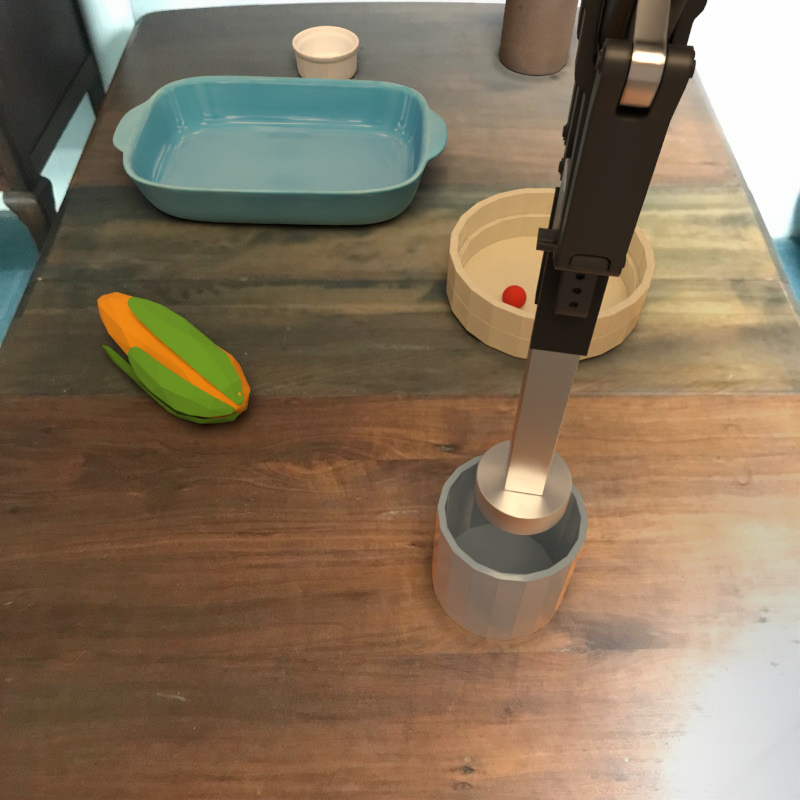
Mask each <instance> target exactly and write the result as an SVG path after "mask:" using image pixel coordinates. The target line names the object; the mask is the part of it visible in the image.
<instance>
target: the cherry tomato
mask: <svg viewBox="0 0 800 800" xmlns="http://www.w3.org/2000/svg"><path fill="white" fill-rule="evenodd" d="M526 298H527V296H526V292H525V290H524V289H523V288H522V287H520V286H518V285H511V286H509V287H507V288H506V289H505V290H504V292H503V294H502V301H503V303H506V304H508V305H511V306H513V307H516V308H518V309H519V308H521V307H522V306H523V305H524V304H525V302H526Z"/></svg>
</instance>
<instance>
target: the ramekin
mask: <svg viewBox="0 0 800 800" xmlns="http://www.w3.org/2000/svg"><path fill="white" fill-rule="evenodd" d="M291 46H292V49H293V50H294V55H295V60H296V68H297V71H298V74H299V75H300V78H323V79H352V78H353V77H354V76H355V74H356V72H357V66H358V50H359V46H360V39H359V37H358V36H357V34H356V33H354V32H353V31H351V30H349V29H347V28H343V27H340V26H334V25H318V26H313V27H309V28H306V29H303V30H301V31H300V32H299V33H297V34H296V35H295V36H294V37H293V38H292V45H291Z"/></svg>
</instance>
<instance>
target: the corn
mask: <svg viewBox="0 0 800 800" xmlns="http://www.w3.org/2000/svg"><path fill="white" fill-rule="evenodd" d="M96 303H97V307H98V313H99V317H100V319H101V321H102V323H103V326H104V327H105V329H106V331H107V334H108V335H109V336H110V337H111V338H112V339H113V341H114V342H115V343H116V344H117V345H118V346H119V348H120V349H121V350H122V351H123V352H124V353H125V355H126V356H127V358H128V361H129V362H127V361H126V360H125V359H124V358H123V357H122V356H121V355H120V354H119V353H117V352H116V351H115V350H114V349H113V348H112V347H110V346H108V345H105V344H100V346H101V348H102V349H103V351H104V352H105V353H106V354H107V356H108V357H109V359H110V360H111V362H113V363H114V364H115V365H116V366H117V367H118V368H119V369H120V370H121V371H123V372H124V374H126V375H127V376H128V377H129V378H130V379H131V380H132V381H133V382H135V383H136V384H137V385H138V386H139V387H140V388H141V389H142V390H143V391H144V392H145V393H146V394H148V395H149V396H150V397H151V398H152V399H153V400H155V401H156V402H157V403H158V404H159V405H160V406H161V407H162V408H163V409H165V411H167V413H169V414H171V415H173V416H175V417H177V418H179V419H181V420H184V421H185V420H186V421H189V422H193V423H196V424H201V425H202V424H203V425H205V424H206V425H207V424H224V423H230V422H233V421H235V420H236V419H237V418H238V417H239V416H240V415H241V414H242V413H243V412H244V411H246V410H247V409H248V407H249V406H248V405H249V402H250V398H251V390H252V389H251V387H250V385H249V383H248V380H247V378H246V376H245V374H244V371H243V369H242V367H241V364H240V363H239V362H238V361H237V359H236V358H235V357H234V356H233V355H232V354H231V353H229V352H227V350H224V349H223V348H221V347H220V346H219V345H218V344H216V343H214V342H213V341H212V340H211V339H210V338H209V337H207V336H206V335H205V334H204V333H203V332H201V330H199V329H198V328H197V327H195V325H193V324H191V323H190V322H189V321H188V320H187V319H186V318H184V317H183V316H181V315H180V314H177V313H176V312H174V311H172V310H171V309H169V308H168V307H166V306H164V305H163V304H160V303H158V302H155V301H152V300H149V299H146V298H143V297H137V296H132V295H128V294H125V293H121V292H118V291H114V292H111V293H107V294H102V295H101V296H100V297H99V298H97V302H96Z"/></svg>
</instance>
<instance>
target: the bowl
mask: <svg viewBox="0 0 800 800" xmlns="http://www.w3.org/2000/svg"><path fill="white" fill-rule="evenodd" d="M555 189H556V188H553V187H524V188H519V189H512V190H508V191H503V192H499V193H495V194H494V195H491V196H489V197H487V198H485V199H483V200H480V201H478V202H476V203H474V205H473V206H472V207H470V208H469V209H468V210H466V211H465V212H464V213H462V214H461V216H460V217H459V219H458V221H457V222H456V224H455V226H454V227H453V229H452V231H451V233H450V239H449V240H450V241H449V249H448V261H447V262H448V264H447V276H446V286H445V287H446V289H445V293H446V296H447V299H448V302H449V305H450V308H451V312H452V313H453V314H454V316H455V317H456V318H457V319H458V321H459V322H460V324H461V325H462V326H463V327H464V328H465V330H466V331H467V332H468V333H470V334H471V335H473V336H474V337H476V339H478V340H479V341H480V342H482V343H483V344H485V345H486V346H487V347H490V348H492V349H495V350H497V351H500V352H502V353H505V354H507V355H509V356H511V357H515V358H518V359H519V358H520V359H524V360H527V355H528V350H529V344H530V339H531V334H532V329H533V324H534V319H535V314H536V309H537V304H534V303H535V294H536V289H537V283H538V278H539V273H540V268H541V262H542V257H543V252H544V251H539V250H536V244H537V236H538V230H539V228H546V229H548V226H549V220H550V215H551V210H552V205H553V199H554V194H555ZM655 270H656V263H655V255H654V249H653V246H652V244H651V242H650V241H649V240H648V238H647V236H646V234H645V233H644V231H643V230H642V228H641V227H639V225H638V224H636V227H635V230H634V233H633V237H632V240H631V243H630V246H629V249H628V252H627V255H626V264H625V267H624V268H622V271H621V274H620V275H619V277H613V276H609V279H608V283H607V286H606V290H605V293H604V297H603V301H602V304H601V308H600V311H599V315H598V318H597V322H596V325H595V329H594V332H593V336H592V340H591V343H590V347H589V350H588V354H587V356H580V360H579V361H582V360H585V359H590V358H593V357H597V356H601V355H603V354H605V353H607V352H608V351H610V350H612V349H614V348H616V347H617V346H619V345H621V344H622V343H623V342H624V341H625V340H626V338H627V337H628V336H629V335H630V334H631V333H632V332H633V330H634V329H635V328H636V326H637V324H638V321H639V318H640V315H641V312H642V310H643V307H644V303H645V301H646V298H647V295H648V292H649V289H650V287H651V283H652V281H653V276H654V274H655ZM511 285H518V286H520V287H522V288H523V289H524V290H525V292H526V296H527V298H526V302H525V304H524V305H523V306H522V307H521V308H519V309H518V308H516V307H513V306H511V305H508V304H506V303H503V301H502V294H503V292H504V290H505V289H506V288H507V287H509V286H511Z"/></svg>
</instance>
